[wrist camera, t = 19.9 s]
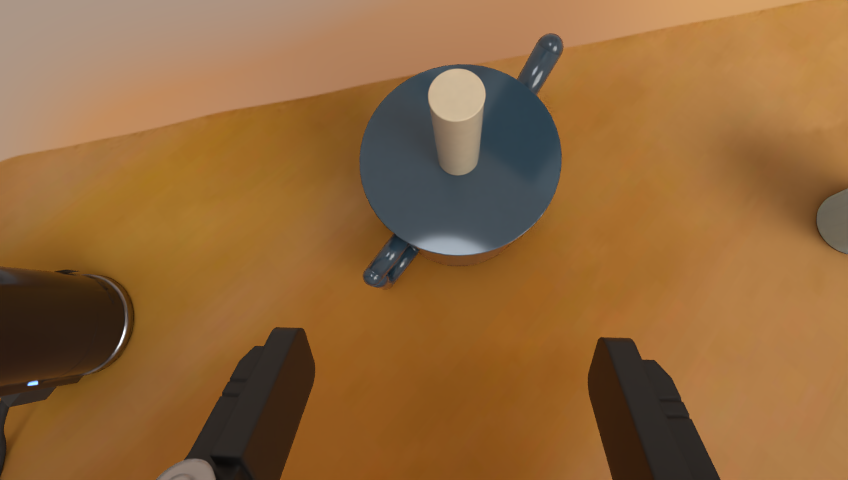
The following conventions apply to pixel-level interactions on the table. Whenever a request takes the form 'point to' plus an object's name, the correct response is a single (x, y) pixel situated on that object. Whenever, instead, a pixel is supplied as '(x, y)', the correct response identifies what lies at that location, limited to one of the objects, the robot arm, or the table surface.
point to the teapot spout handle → (401, 253)
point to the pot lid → (460, 160)
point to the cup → (834, 221)
